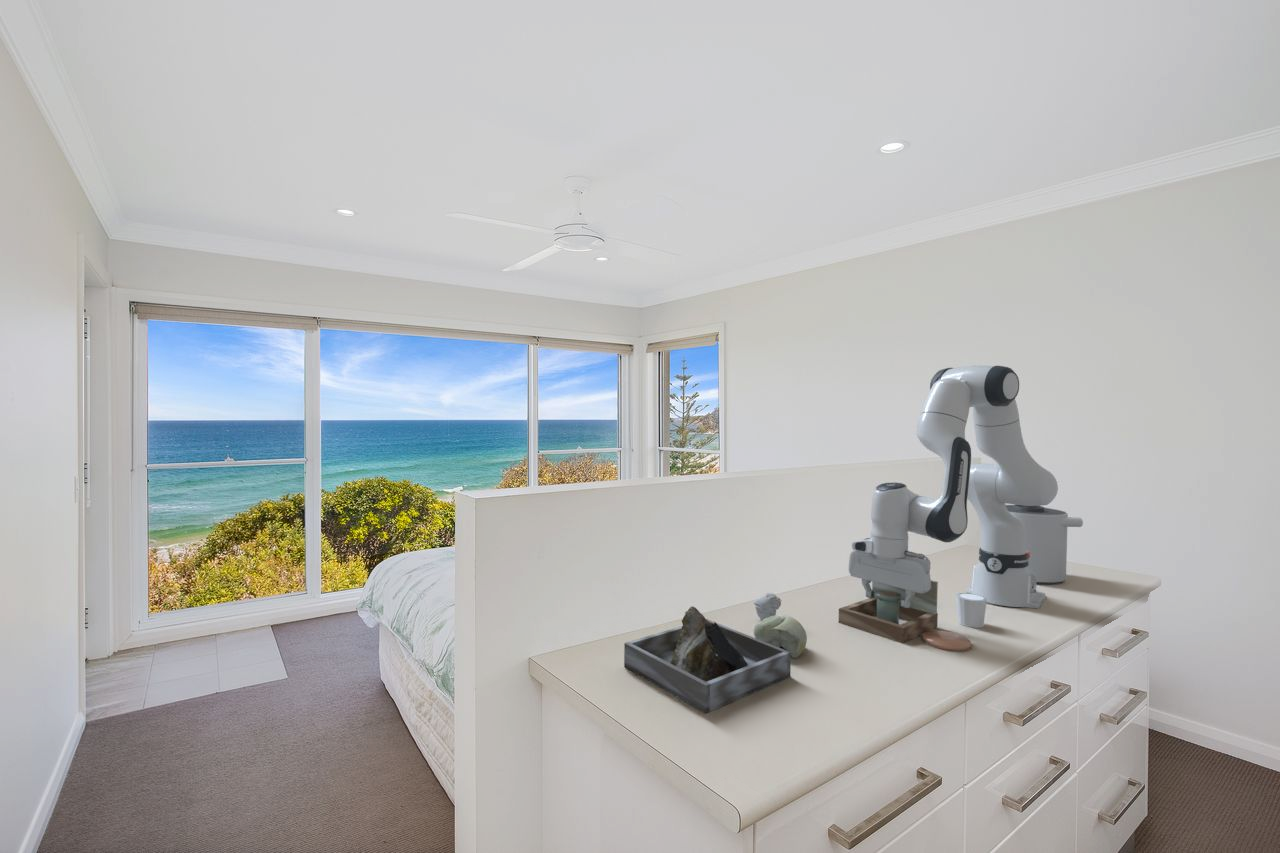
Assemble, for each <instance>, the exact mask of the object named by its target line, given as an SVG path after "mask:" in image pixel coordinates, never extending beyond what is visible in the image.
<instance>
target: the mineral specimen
mask: <svg viewBox="0 0 1280 853" xmlns="http://www.w3.org/2000/svg"><path fill="white" fill-rule="evenodd" d="M684 613H685V614H684V616H683V617H682V620H681V623H682V625H681V626H682V629H683V630H682V631H681V634H680V636H679V641H678V642H677V648H676V649H675V652H674V653H673V654H672V659H671V661H670V664H672V665H674V666H676V667H678V668H680V669H682V670H684V671H686V672H688V673H690V674H692V675H694V676H696V677H697V678H699V679H701V680H703V681H705V682H707V681H710V680H712V679H715V678H718V677H720V676H723V675H725V674H728V673H731V672H733V671H736V670H738V669H741V668H743V667H746V666H747V662H746V661H745V660H744V658H743V656H742V655H741V654H740V652H739V651H738V650H737V649H736V648H735V647H734V646H732V645H731V644H730V643H729V642H728V640H727V639H726V637H725V635H724V634H723V633H722V631H721V629H720V627H719V626H718V624H719V623H718V622H716V621H713V622H714V623H713V625H712V624H711V623H710V622H709V621H707V620H706V619H707V618H706V617H705V616H704V614H703V613H701V612H700V611H699V610H698V609H697V608H696V607H695V606H692V605H691V606H690V607H689V608H688V610H687V611H685V612H684ZM717 623H718V624H717ZM714 625H715V626H714Z"/></svg>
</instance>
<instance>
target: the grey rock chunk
mask: <svg viewBox="0 0 1280 853" xmlns="http://www.w3.org/2000/svg"><path fill="white" fill-rule="evenodd" d="M753 604H754V605H755V610H756V615H757V616H758V618H759V619H761V621H762V620H763V619H765V618H767V617H770V616H777V615H776V614H777V610H778V609H780V607H781V605H782V599H781V598H780V597H779V596H777V595H776V594H775V593H773V592H772V593H771V592H767V593H765V595H763V596H759V597H757V599H755V600H754V602H753Z"/></svg>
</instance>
